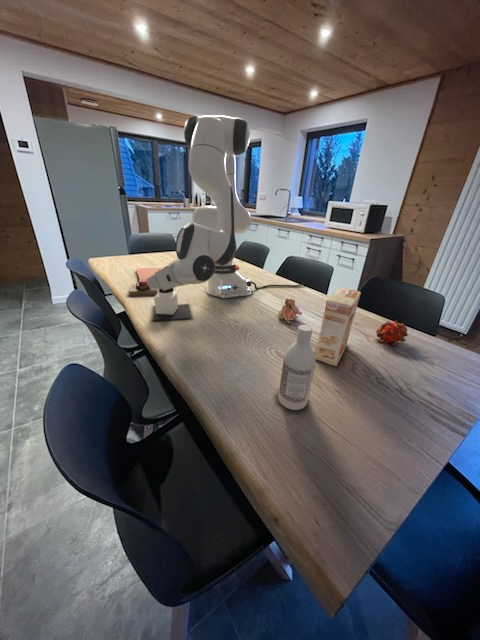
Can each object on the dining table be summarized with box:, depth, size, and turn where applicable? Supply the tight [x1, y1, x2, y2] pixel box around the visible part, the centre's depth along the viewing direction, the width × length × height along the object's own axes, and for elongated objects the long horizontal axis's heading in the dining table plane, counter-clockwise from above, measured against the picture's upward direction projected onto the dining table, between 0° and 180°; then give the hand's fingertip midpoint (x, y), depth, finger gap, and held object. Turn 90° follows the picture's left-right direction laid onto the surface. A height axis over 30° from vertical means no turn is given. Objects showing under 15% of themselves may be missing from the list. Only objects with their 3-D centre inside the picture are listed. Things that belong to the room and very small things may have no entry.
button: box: [138, 279, 148, 285], centre depth 123 cm, size 4×4×2 cm
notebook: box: [136, 266, 165, 281], centre depth 146 cm, size 27×17×2 cm, turn 24°
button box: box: [128, 281, 158, 297], centre depth 125 cm, size 12×10×4 cm
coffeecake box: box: [314, 287, 362, 367], centre depth 81 cm, size 15×7×20 cm, turn 148°
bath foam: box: [277, 324, 316, 411], centre depth 60 cm, size 7×7×20 cm
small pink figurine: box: [277, 297, 303, 324], centre depth 105 cm, size 9×10×10 cm
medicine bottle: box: [153, 288, 179, 315], centre depth 104 cm, size 7×7×12 cm
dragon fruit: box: [375, 320, 408, 346], centre depth 92 cm, size 8×8×12 cm
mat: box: [152, 303, 192, 322], centre depth 106 cm, size 14×14×1 cm
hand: (168, 274), depth 98 cm, fingers open, 8 cm apart
